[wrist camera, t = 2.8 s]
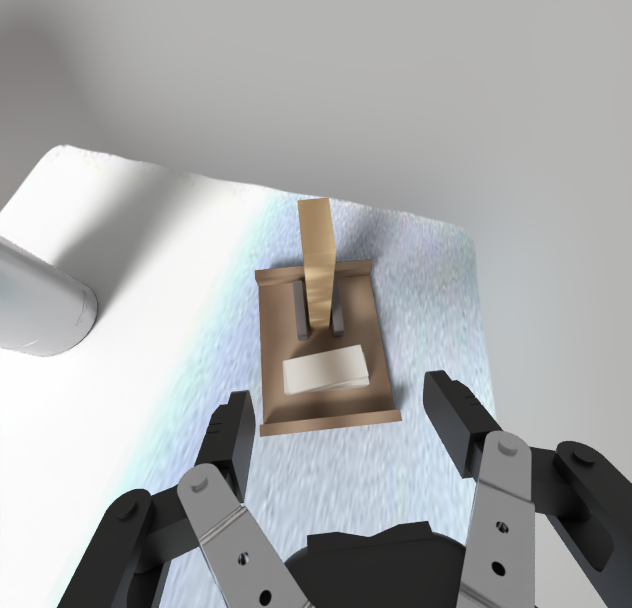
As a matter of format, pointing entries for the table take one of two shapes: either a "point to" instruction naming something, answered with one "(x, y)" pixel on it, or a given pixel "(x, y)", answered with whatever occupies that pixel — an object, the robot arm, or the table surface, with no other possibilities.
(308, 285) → the oak slat
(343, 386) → the block
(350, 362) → the upper offcut
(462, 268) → the table surface
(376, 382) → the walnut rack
